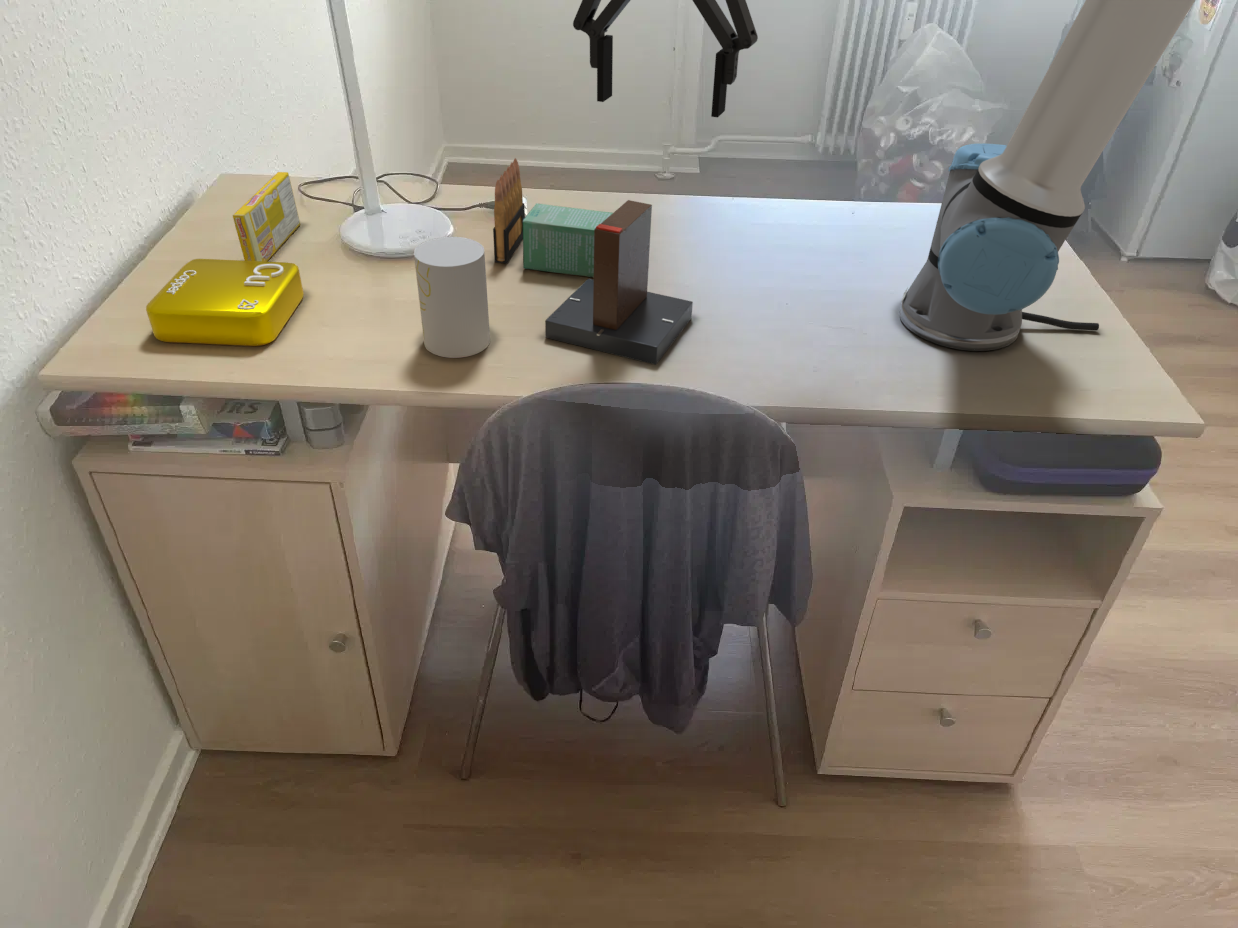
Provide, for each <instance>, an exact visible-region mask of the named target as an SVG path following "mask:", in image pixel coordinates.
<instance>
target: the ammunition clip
mask: <svg viewBox="0 0 1238 928" xmlns="http://www.w3.org/2000/svg"><path fill="white" fill-rule="evenodd" d="M520 169H521V168H520V165H519V161H518V159H517V158H516V157H514V159H513V161H511V162H510V165H509V166H507V168H506V170H504V171H503V174H501V175H500V176H499V179H497V180H496V182H495V186H494V207H493V218H494V220H493V221H494V227H493V228H492V234H493V256H494V259H493V260H494V263H497V264H508V263H509V262H510V260H511V259H512V257H513V256H514V254H515V252H516V251H517V249H518V248H519V247H520V245H521V243H523V219H524V218H525V217H526V213H525V212H526V209H525V203H524V202H523V201H524V200H523V186H522V180H521V179H522V178H521V171H520Z"/></svg>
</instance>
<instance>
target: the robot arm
mask: <svg viewBox="0 0 1238 928" xmlns="http://www.w3.org/2000/svg"><path fill="white" fill-rule="evenodd" d="M601 1H602V0H581V3H580V5H579V7H578V9H577V12H576V14H575V17H574V19H573V22H572V26H573V28H574V29H575V30H576V31H581V32H583V33H585V34H586V35H587V36H588V39H589V64H590V68H591V69H596V102H598V103H599V102H600V103H604V102H605V101H608V99H610V98H611V97H613V65H614V64H613V61H614V60H613V57H614V53H613V52H614V50H613V49H614V48H613V47H614V46H613V45H614V36H613V34H606V33H607V32H608V29H609V28H610V27H611V26H612V24H613V23H614V22H615V21H616V19H617V18H618V17H619V15H621V13H622V12H623V11H624V10H625V8H626V7H627V6H628V4H629V3H630V2H631V0H610V1H609V2H608V3H607V4H606V5H605V7H604V8H603V10H602V11H601V12H600V14H599V15H598V16H597V17H596V19H594V18H595V15H596V14H597V13H596V12H597V11H598V9H599V7H600V5H601ZM692 2H693V4H694V6H695V7H696V9H697V10H698V12H699V13H700V15H701V16H702V18H703V19H704V22H705V23H706V24H707V26H708V28H709V29H710V30H711V33H712V34H713V35H714V37H715V39H716V40H717V41H718V43H719V45H720V46H721V49H720V50H718V51H717V52H716V53H715V60H714V61H715V62H714V74H713V75H714V76H713V87H712V88H713V89H712V101H711V115H710V116H711V118H717V119H718V118H719V117H721V115H723V113H724V112H725V111H726V103H727V92H728V85H729V86H731V85H732V84H734V83H735V81H736V79H737V76H738V65H739V64H738V63H739V54H740V51H742V50H748V49H750V48H751V47H752V46H753V45H755V44H756V43H757V42H758V39H759V38H758V33H757V30H756V27H755V24H754V21H753V18H752V15H751V12H750V9H749V6H748V3H747V0H725V3H726V7H727V8H728V12H729V15H730V17H731V20H732V23H733V26H732V24H731V22H730V20H729V19H728V18H727V16H726V14H725V13H724V11H723V9H722V8H721V7H720V5H719V4H718V2H717V0H692ZM1195 2H1196V0H1085V1H1084V3H1083V4H1082V7H1081V8H1080V9H1079V12H1078V13H1077V16H1076V18H1075V20H1074V21H1073V22H1072V25H1071V27H1070V29H1069V30H1068V32H1067V34H1066V36H1065V37H1064V39H1063V41H1062V43H1061V45H1060V47H1059V49H1058V50H1057V52H1056V55H1055V57H1054V58H1053V60H1052V61H1051V64H1050V65H1049V67H1048V69H1047V70H1046V73H1045V75H1044V77H1043V78H1042V80H1041V82H1040V84H1039V86H1038V87H1037V89H1036V91H1035V93H1034V94H1033V97H1032V99H1031V101H1030V102H1029V104H1028V106H1027V108H1026V110H1025V112H1024V113H1023V115H1022V117H1021V119H1020V121H1019V123H1018V124H1017V126H1016V128H1015V130H1014V132H1013V134H1012V136H1011V137H1010V139H1009V141H1008V143H1007V144H1000V143H999V144H998V143H970V144H965V145H963V146H960V147H958V148H957V150H956V151H955V153H954V155H953V158H952V162H951V164H950V166H949V167H948V169H947V170H948V172H949V173H948V177H947V181H946V186H945V189H944V193H943V195H942V196H943V198H942V201H941V205H940V209H939V213H938V217H937V220H936V225H935V228H934V232H933V235H932V240H931V243H930V248H929V252H928V255H927V259H926V262H925V263H924V265H923V266H922V268H921V269H920V270H919V272H918V274H917V275H916V277H915V278H914V280H913V282H912V283H911V285H910V286H909V287H907V288H906V289H905V291H904V292H903V295H902V298H901V302H900V309H899V318H900V320H901V322H902V323H903V325H904V326H905V327H906V328H907V329H908V330H909V331H911V332H912V333H913V334H915V335H916V336H918V337H920V338H921V339H924V340H926V341H927V342H931V343H933V344H936V345H939V346H942V347H946V348H949V349H955V350H959V351H969V352H970V351H971V352H985V351H987V352H988V351H994V350H999V349H1003V348H1006V347H1008V346H1010V345H1011V344H1013V343H1014V342H1015V341H1016V340H1017V338H1018V336H1019V333H1020V330H1021V328H1022V325H1023V321H1029V322H1035V323H1039V324H1040V323H1041V324H1044V325H1049V326H1053V327H1058V328H1060V329H1061V328H1062V329H1066V330H1067V329H1068V330H1077V331H1078V330H1079V331H1099V328H1100V324H1099V322H1078V321H1070V320H1063V319H1059V318H1055V317H1051V316H1047V315H1042V314H1035V313H1031V312H1025V311H1023V310H1024V309H1025V308H1028V307H1030V306H1032V305H1033V304H1035V303H1036V302H1038V301H1039V300H1040V299H1041V298H1042V297H1043V296H1044V295H1045V294H1046V293H1047V292H1048V290H1049V289H1050V288H1051V286H1052V285H1053V283H1054V280H1055V278H1056V276H1057V271H1058V270H1059V264H1060V256H1059V251H1060V250H1061V248H1062V247H1063V245H1064V243H1065V242H1066V240H1067V239H1068V237H1069V235H1070V234H1071V232H1072V230H1073V229H1074V227H1075V225H1076V224H1077V222H1078V221H1079V219H1080V218H1081V217H1082V215H1083V213H1084V211H1085V210H1086V209H1085V208H1086V203H1085V202H1084V197H1083V194H1082V186H1083V185H1084V182H1085V181H1086V180H1087V177H1088V176H1089V174H1090V173H1091V171H1092V169H1093V168H1094V166H1095V164H1096V163H1097V161H1098V159H1099V158H1100V156H1101V154H1103V152H1104V150H1105V148H1106V147H1107V145H1108V144H1109V141H1110V140H1111V138H1112V137H1113V135H1114V133H1115V132H1116V131H1117V130H1118V129H1117V128H1118V127H1119V126H1120V124H1121V122H1122V121H1123V119H1124V118H1125V116H1126V114H1127V112H1128V111H1129V109H1130V108H1131V106H1132V105H1133V104H1134V101H1135V100H1136V98H1137V96H1138V95H1139V93H1140V91H1141V89H1142V88H1143V87H1144V85H1145V83H1146V81H1147V80H1148V78H1149V77H1150V76H1151V73H1152V72H1153V70H1154V68H1155V67H1156V65H1157V64H1158V62H1159V60H1160V59H1161V57H1162V55H1163V54H1164V52H1165V50H1166V49H1167V47H1168V46H1169V44H1170V43H1171V41H1172V39H1173V38H1174V36H1175V34H1176V33H1177V31H1178V30H1179V28H1180V26H1181V24H1182V23H1183V21H1184V20H1185V18H1186V17H1187V15H1188V14H1189V12H1190V10H1191V8H1192V7H1193V5H1195V4H1194V3H1195Z"/></svg>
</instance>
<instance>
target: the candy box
mask: <svg viewBox="0 0 1238 928" xmlns="http://www.w3.org/2000/svg"><path fill="white" fill-rule="evenodd" d="M292 186H293V185H292V183H291V177H290V175H289V172H288V171H278V172H277V173H275V174H274V175H273V176H272V177H271V178H270V179H269V180H268V181H267V182H266V183H265V184H264V185H263V186H262V187H261V188H260V189H258V191H256V193H254V194H253V195H252V196H251V197H250V198H249V199H248V200H247V201H246V202H245V203H244V204H243V205H242V206H241V207H240V208H239V209H238V210H237V211H235V213H233V214H232V218H233V219H232V220H233V222H234V223H233V224H234V226H235V230H236V234H237V238H238V242H239V245H240V248H241V252H242V256H243V261H264V262H269V260H270V259H271V258H272V257H273V255H274V254H275V253H276V252H277V251H278V250H279V249H280V248H281V247H282V245H283V244H284V243H285V242H286V241H287V240H288V239H289V238H290V236H292V234H293V233H294V232H295V231H296V230H297V229H298V228H299V226H301V220H300V216H299V212H298V208H297V203H296V199H295V196H294V190H293V187H292Z"/></svg>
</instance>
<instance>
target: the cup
mask: <svg viewBox="0 0 1238 928" xmlns="http://www.w3.org/2000/svg"><path fill="white" fill-rule="evenodd" d="M413 257H414V266H415V267H414V268H415V275H416V283H417V292H418V302H419V312H420V318H421V320H420V321H421V327H422V336H423V345H424V347H425V349H426V350H427V351H428V352H429V353H431V354H433V355H435V356H438V357H443V358H448V359H449V358H450V359H458V358H459V359H460V358H467V357H471V356H474V355H477V354H479V353H481V352H483V351H484V350H486V348H487V347H489V345H490V342H491V331H490V316H489V302H488V299H489V298H488V286H487V285H488V284H487V271H486V270H487V269H486V253H485V247H484V245H482V243H480V242H479V241H477V240H475V239H472V238H468V237H463V236H442V237H437V238H432V239H428V240H426V241H423V242H422V243H420V244H418V245H417V246H416V247H415V248H414V250H413Z"/></svg>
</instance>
